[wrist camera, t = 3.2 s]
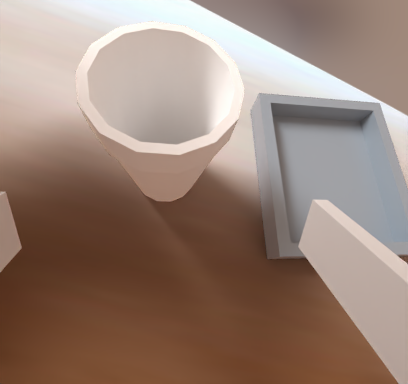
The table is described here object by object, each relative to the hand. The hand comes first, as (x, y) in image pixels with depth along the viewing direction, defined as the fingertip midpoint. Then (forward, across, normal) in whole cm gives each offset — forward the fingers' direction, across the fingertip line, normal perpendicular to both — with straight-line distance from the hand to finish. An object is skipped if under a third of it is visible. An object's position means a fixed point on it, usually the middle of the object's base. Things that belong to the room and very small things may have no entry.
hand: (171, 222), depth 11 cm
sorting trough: (+15, +17, -3) cm, 23 cm away
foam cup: (+15, -1, -4) cm, 16 cm away
